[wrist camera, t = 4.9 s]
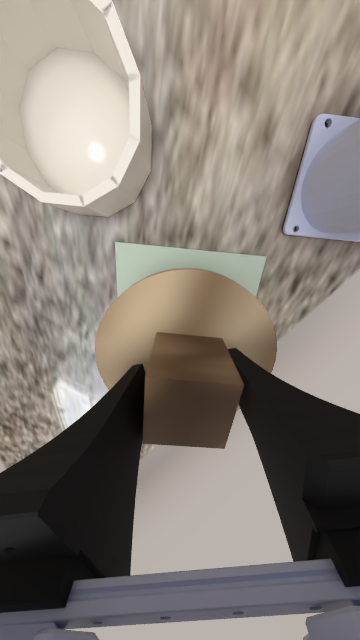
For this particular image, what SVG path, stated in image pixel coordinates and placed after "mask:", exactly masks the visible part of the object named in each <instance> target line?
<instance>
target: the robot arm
mask: <svg viewBox="0 0 360 640" xmlns="http://www.w3.org/2000/svg"><path fill="white" fill-rule="evenodd" d="M325 122H327V124H328V127H327V128H326V127H325V125H324V124H325ZM295 226H296V231H295V232H294V231H293V228H294V227H295ZM283 233H284V234H286V235H294V236H303V237H313V238H323V239H333V240H343V241H352V242H360V118H355V117H347V116H340V115H332V114H324V113H323V114H320V115H318V116H317V117H316V118H315V119H314V121H313V123H312V125H311V129H310V133H309V136H308V140H307V143H306V147H305V151H304V154H303V158H302V162H301V165H300V169H299V172H298V176H297V180H296V183H295V187H294V190H293V194H292V198H291V201H290V205H289V208H288V212H287V216H286V219H285V223H284V227H283ZM228 351H229V354H230V356H231V358H232V360H233V362H234V364H235V366H236V368H237V371H238V373H239V375H240V377H241V379H242V381H243V383H244V387H243V391H242V394H241V397H240V400H239V406H240V409H241V411H242V413H243V415H244V418H245V420H246V422H247V424H248V426H249V429H250V431H251V433H252V436H253V439H254V441H255V444H256V447H257V450H258V453H259V456H260V459H261V461H262V464H263V468H264V471H265V474H266V477H267V479H268V482H269V485H270V489H271V491H272V495H273V498H274V501H275V504H276V507H277V510H278V513H279V516H280V519H281V523H282V526H283V529H284V532H285V535H286V538H287V541H288V545H289V548H290V551H291V555H292V558H293V561H294V562H287V563H274V564H263V565H250V566H238V567H227V568H215V569H204V570H192V571H179V572H169V573H156V574H144V575H133V576H130V567H131V551H132V550H131V549H132V533H133V519H134V508H135V495H136V486H137V476H138V467H139V459H140V451H141V445H142V440H143V420H144V394H145V376H146V372H145V369H144V366H143V363H142V364H136V365H133V366H132V367H131V368H130V369H129V370H128V371H127V372H126V373H125V374H124V375H123V376H122V377H121V379H120V380H119V381H118V382H117V383H116V384H115V385H114V386H113V387H112V388H111V389H110V390H109V391H108V392H107V393H106V394H105V395H104V396H103V397H102V398H101V399H100V400H99V401H98V402H97V403H96V404H95V405H94V406H93V407H92V408H91V409H90V410H89V411H88V412H87V413H85V414H84V415H83V416H82V417H81V418H80V419H78V420H77V421H76V422H75V423H73V424H72V425H71V426H69V427H68V428H67V429H66V430H64V431H63V432H62V433H60V434H59V435H58V436H56V437H55V438H54V439H52V440H51V441H49V442H48V443H47V444H45V445H44V446H42V447H41V448H39V449H38V450H36V451H35V452H33V453H32V454H30V455H29V456H27V457H26V458H24V459H23V460H21V461H19V462H18V463H16V464H14V465H13V466H11V467H9V468H8V469H6V470H5V471H3V472H1V473H0V640H99V639H98V638H97V636H96V635H95V633H93V632H82V631H71V630H65V629H75V628H90V627H106V626H121V625H136V624H152V623H166V622H181V621H197V620H213V619H228V618H243V617H259V616H274V615H288V614H304V613H320V612H325V613H321V614H318V615H314V616H310V617H307V619H306V626H307V629H308V632H309V633H308V634H307V635H306V636H305V637H304V638H303V640H360V414H358V413H355V412H353V411H350V410H347V409H345V408H342V407H339V406H336V405H334V404H331V403H329V402H327V401H324V400H322V399H319V398H317V397H315V396H313V395H310V394H308V393H306V392H304V391H302V390H300V389H298V388H296V387H294V386H292V385H290V384H288V383H286V382H284V381H282V380H281V379H279V378H277V377H275V376H274V375H272V374H271V373H269V372H268V371H266V370H265V369H263V368H262V367H260V366H259V365H258V364H256V363H255V362H253V361H252V360H251V359H249V358H248V357H247V356H246V355H244V354H243V353H242V352H241V351H239V350H238V349H237V348H231V349H228Z"/></svg>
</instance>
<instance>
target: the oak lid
mask: <svg viewBox="0 0 360 640" xmlns="http://www.w3.org/2000/svg"><path fill="white" fill-rule="evenodd" d="M231 348H237V349H238V350H239V351H241V352H242V353H243V354H244V355H246V356H247V357H248V358H249V359H251V360H252V361H253V362H255V363H256V364H258V365H259V366H260V367H262V368H263V369H265V370H266V371H268V372H269V373H271V372H272V370H273V367H274V363H275V359H276V352H277V340H276V334H275V329H274V326H273V323H272V321H271V318H270V316H269V315H268V313H267V311H266V309H265V308H264V306H263V305H262V304H261V303H260V301H259V300H258V299H257V298H256V297H255V296H254V295H253V294H252V293H251V292H250V291H248V290H247V289H245V288H244V287H242V286H241V285H240V284H238V283H236V282H235V281H233V280H231V279H229V278H227V277H225V276H223V275H221V274H218V273H215V272H212V271H207V270H202V269H193V268H180V269H170V270H166V271H162V272H158V273H155V274H153V275H150V276H147V277H145V278H143V279H142V280H140V281H138V282H136V283H135V284H133V285H132V286H131V287H129V288H128V289H127V290H125V291H124V292H123V293H122V294H121V295H120V296H119V297H118V298H117V299H116V300H115V301H114V302H113V303H112V304H111V306H110V307H109V308H108V310H107V311H106V312H105V314H104V316H103V318H102V320H101V322H100V325H99V328H98V331H97V334H96V341H95V357H96V363H97V367H98V370H99V373H100V375H101V377H102V379H103V381H104V383H105V385H106V386H107V388H108V389H109V390H110V389H111V388H112V387H113V386H114V385H115V384H116V383H117V382H118V381H119V380H120V379H121V377H122V376H123V375H124V374H125V373H126V372H127V371H128V370H129V369H130V368H131V367H132V366H133V365H136V364H142V363H143V366H144V369H145V372H146V376H145V394H144V420H143V444H159V445H160V444H161V445H175V446H190V447H206V448H222V449H224V448H225V445H226V442H227V439H228V436H229V433H230V429H231V426H232V423H233V419H234V416H235V413H236V411H237V410H238V409H240V406H239V400H240V397H241V394H242V391H243V387H244V383H243V381H242V379H241V377H240V375H239V373H238V371H237V368H236V366H235V364H234V362H233V360H232V358H231V356H230V354H229V351H228V349H231Z"/></svg>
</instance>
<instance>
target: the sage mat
mask: <svg viewBox="0 0 360 640" xmlns="http://www.w3.org/2000/svg"><path fill="white" fill-rule="evenodd" d="M115 250H116V273H117V295H118V297H119V296H120V295H121V294H122V293H123V292H124V291H125V290H127V289H128V288H129V287H131V286H132V285H133V284H135V283H136V282H138V281H140V280H142V279H143V278H145V277H147V276H150V275H153V274H155V273H158V272H162V271H166V270H170V269H180V268H193V269H202V270H207V271H212V272H215V273H218V274H221V275H223V276H225V277H227V278H229V279H231V280H233V281H235V282H236V283H238V284H240V285H241V286H242V287H244V288H245V289H247V290H248V291H250V292H251V293H252V294H253V295H254V296H255V297H256V295H257V291H258V287H259V283H260V279H261V275H262V272H263V268H264V264H265V260H266V256H256V255H246V254H235V253H225V252H215V251H204V250H194V249H184V248H173V247H163V246H153V245H142V244H132V243H121V242H115Z"/></svg>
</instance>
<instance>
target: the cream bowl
mask: <svg viewBox="0 0 360 640" xmlns="http://www.w3.org/2000/svg"><path fill="white" fill-rule="evenodd" d="M151 151H152V125H151V120H150V116H149V111H148V107H147V103H146V98H145V94H144V89H143V85H142V80H141V76H140V73H139V71H138V68H137V65H136V63H135V60H134V57H133V55H132V52H131V49H130V47H129V44H128V41H127V39H126V36H125V34H124V31H123V28H122V26H121V23H120V20H119V18H118V15H117V12H116V10H115V7H114V4H113V2H112V1H111V0H0V174H1V175H3V176H4V177H6V178H7V179H9V180H10V181H12V182H13V183H15V184H16V185H17V186H19V187H20V188H22V189H23V190H25V191H26V192H28V193H29V194H31V195H32V196H34V197H35V198H37V199H38V200H39V201H41V202H42V203H46V204H49V205H52V206H55V207H58V208H61V209H64V210H67V211H71V212H74V213H77V214H84V215H94V216H104V217H110V216H111V215H113V214H115V213H117V212H118V211H120V210H122V209H124V208H125V207H127V206H129V205H131V204H132V203H134V202H135V201H136V199H137V197H138V195H139V193H140V191H141V189H142V187H143V185H144V183H145V182H146V180H147V178H148V176H149V174H150V172H151Z"/></svg>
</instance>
